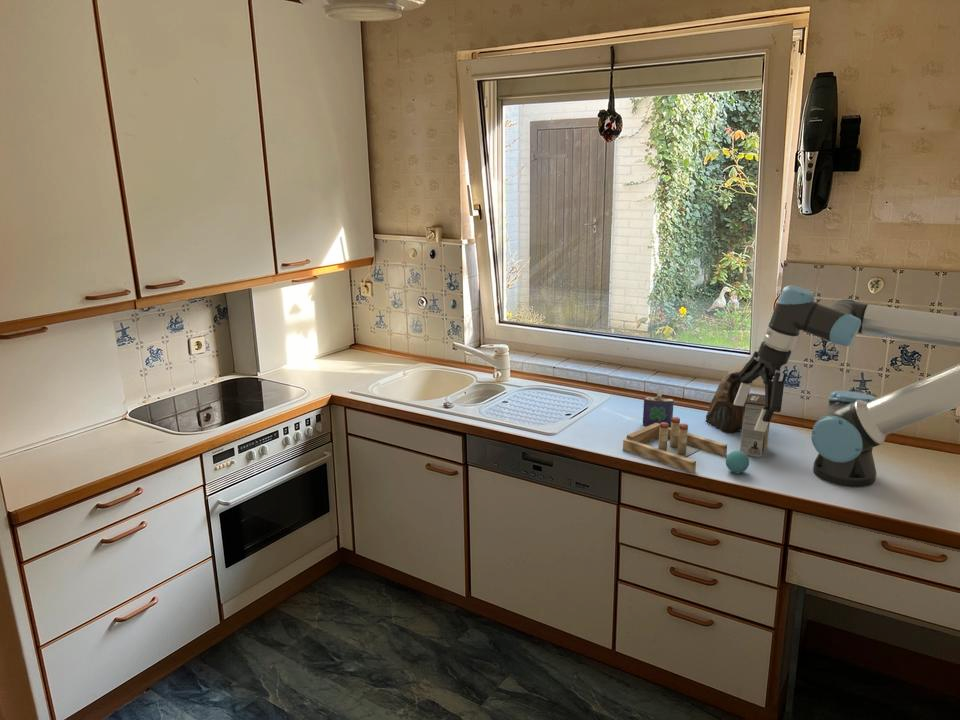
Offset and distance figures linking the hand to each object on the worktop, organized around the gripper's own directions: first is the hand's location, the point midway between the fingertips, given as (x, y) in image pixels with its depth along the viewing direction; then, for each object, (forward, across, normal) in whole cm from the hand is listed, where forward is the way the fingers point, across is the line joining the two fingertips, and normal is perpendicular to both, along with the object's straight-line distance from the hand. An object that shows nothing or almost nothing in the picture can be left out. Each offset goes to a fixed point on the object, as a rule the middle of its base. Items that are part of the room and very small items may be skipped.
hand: (748, 417), depth 194 cm
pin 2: (+21, -16, -9) cm, 28 cm away
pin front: (+20, -11, -9) cm, 24 cm away
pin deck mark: (+20, -13, -10) cm, 26 cm away
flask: (+24, -34, -8) cm, 42 cm away
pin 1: (+21, -12, -14) cm, 28 cm away
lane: (+20, -12, -10) cm, 26 cm away
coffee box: (+16, -11, +13) cm, 23 cm away
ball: (+13, +2, +1) cm, 13 cm away
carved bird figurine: (+19, -32, +14) cm, 40 cm away
